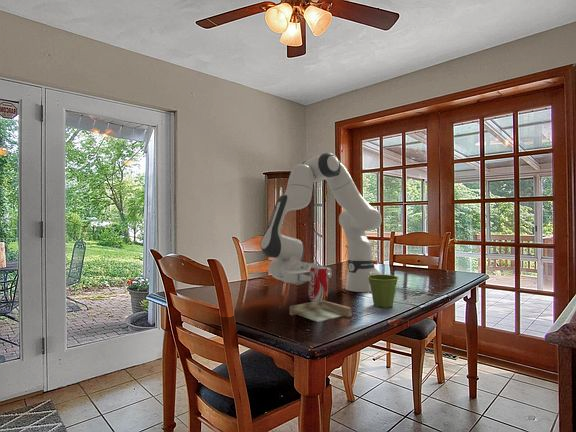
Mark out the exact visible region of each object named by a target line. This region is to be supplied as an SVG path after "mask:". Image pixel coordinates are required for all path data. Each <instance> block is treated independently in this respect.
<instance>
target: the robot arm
mask: <svg viewBox="0 0 576 432" xmlns="http://www.w3.org/2000/svg"><path fill="white" fill-rule="evenodd" d="M324 180H325V181H326V182H327V185H328V186H329V189H330V191H331V194H332V195H333V197H334V198H335V200H336V202H337V204H338V205H339V206H340V207H342V208H343V209H344V210H343V211H342V212H340V214H339V216H338V223H339V225H340V227H342V229H343V231H344V234H345V237H346V242H347V252H348V255H347V257H348V259H347V262H346V263H347V269H348V270H347V273H346V274H347V276H346V284H345V290H346V291H350V292H357V293H358V292H359V293H372V291H371V286H370V283H369V279H368V278H367V276H369V275H380V274H382V275H384V274H383V273H382V272H380V271H379V270H378V269H377V268H376V267H375V265H378V264H379V261H378V260H377V259H374V260H373V258H372V257H373V255H372V253H373V251H372V247H373V246H372V243H371V240H369V239H368V237H367V234H366V232H371V231H374V230H378V229H379V228H380V226H381V225H382V222H383V220H382V219H383V218H382V213H381V212H380V211H379V210H377V209H376V208H374V207H373V206H372V205H371V204H370V203H369V202H368V201H367V200H366V199H365V198H364V197H363V196H362V194H361V193H360V191H359V189H358V188H357V185H356V184H355V182H354V180H353V178H352V176H351V174H350V173H349V170H348V169H347V168H346V166H345V165H344V164H343V163H342V162H341V161H340V159H339V158H338V156H337V155H336V154H334V153H332V152H325V153H324V152H323V153H322V154H318V155H315V156H313V157H312V158H310V159H308V160H305V161H303V162H302V163H298V164H295V165H294V166H293V167H292V168H291V171H290V173H289V177H288V180H287V185H286V189H285V192H284V194H283V195H280V196H279V198H277V200H276V203H275V205H274V207H273V211H272V213H271V216H270V219H269V221H268V224H267V228H266V230H265V232H264V234H263V236H262V238H261V241H260V249H261V251H262V253H263V255H264V256H265V257H267V258H274V259H272V260H270V262H269V265H268V272H269V273H270V275H271V276H272V277H273V278H274V279H276V280H279V281H281V282H284V283H288V284H293V285H296V286H299V285H303V284H306V283H308V282H309V281H312V280H313V276H310V275H309V271H310V269H311V266H322V265H321V264H320V265H319V264H317V263H316V262H305V261H303V260H304V255H305V246H304V244H303V242H302V240H301V239H298V238H295V237H292V236H289V235H284V234H282V233H281V229H282V226H283V223H284V219H285V217H286V215H287V213H288V212H290V211H296V210H297V211H298V210H303V209H304V208H307V206H308V205H309V204H310V202H311V200H312V197H313V189H314V183H320V182H323V181H324ZM326 267H327V266H326ZM327 270H328V272H329V279H331V278H332V274H333V273H332V269H331V268H330V267H327Z"/></svg>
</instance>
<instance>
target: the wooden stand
mask: <svg viewBox="0 0 576 432" xmlns="http://www.w3.org/2000/svg"><path fill="white" fill-rule="evenodd" d="M296 315H297V316H299V317H303V318H306V319H309V320H311V321H314V322H316V323H320V322H321V323H322V322H325V321H329V320H332V319H333V320H335V319H337V318H341V317H347V318H350V317H352V307H349V306H346V305H342V304H338V303H335V302H331V301H327V300H325V301H324V302H313V301H310V302H304V303H300V304H294V305H293V304H292V305H289V316H296Z"/></svg>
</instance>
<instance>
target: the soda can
mask: <svg viewBox="0 0 576 432" xmlns="http://www.w3.org/2000/svg"><path fill="white" fill-rule="evenodd" d="M309 275H310V276H313V280H312V281H307V283H308V285H307V286H308V288H307V297H308V298H307V299H308V300H310V302H324V301H327V300H328V295H329V294H328V293H329V279H330V278H329V272H328V270H327V266H325V265H321V266H311V269H310V271H309Z"/></svg>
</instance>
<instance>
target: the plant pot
mask: <svg viewBox="0 0 576 432" xmlns="http://www.w3.org/2000/svg"><path fill="white" fill-rule="evenodd" d="M382 274H383V273H381V274H380V275H369V276H367V278H368V279H369V283H370V286H371V291H372V292H371V296H372V302H373V305H374V307H376V308H379V307H381V308H384V309H386V308H392V307H393V305H394V301H395V293H396V287H397V283H398V280H399V276H396V275H391V274H383V275H382Z"/></svg>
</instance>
